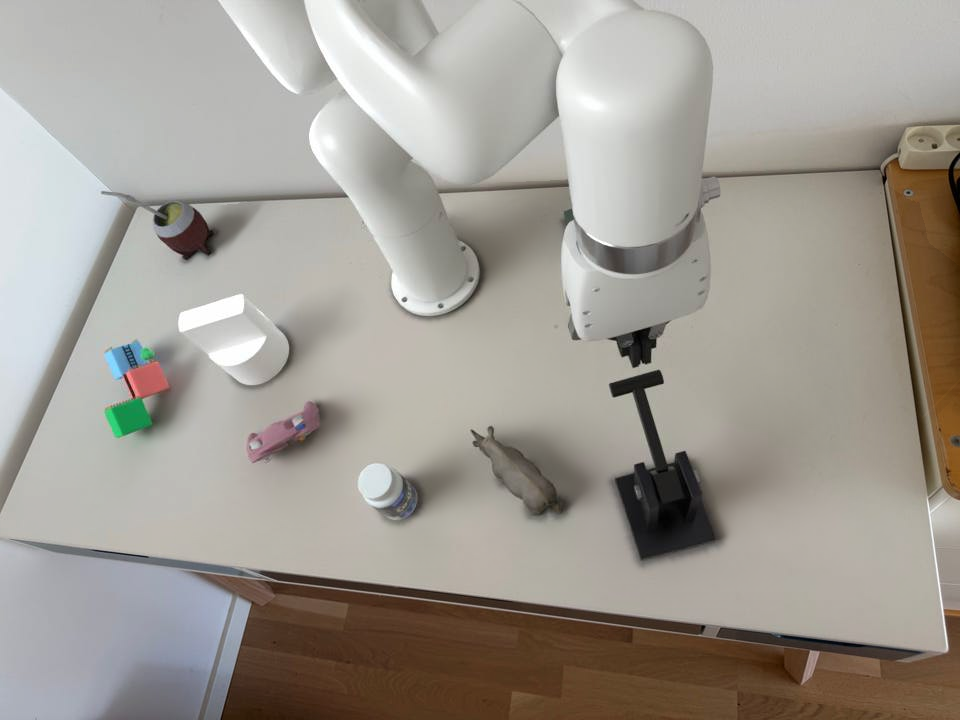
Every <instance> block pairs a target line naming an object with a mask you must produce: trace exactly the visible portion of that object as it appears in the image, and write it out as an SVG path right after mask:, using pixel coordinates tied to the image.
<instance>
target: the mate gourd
mask: <svg viewBox="0 0 960 720" xmlns="http://www.w3.org/2000/svg"><path fill="white" fill-rule="evenodd" d="M100 194H101V195H105V196H113V197H118V198H121V199H125V200H126V201H128V202H129V203H134V204H135V205H137V206H139V207H141V208H142V209H144V210H147V211H148V212H150V213H152V214H153V217H152V227H153V230H154V234H155V235H156V236H157V237H158V239H159V240H160V241H161V242H162V243H164V244H165V245H166V246H167V248H169V249H170V250H172V251H173V252H175V253H176V254H179V255H181V256H182V259H184V260H185V261H188V260H189V259H190V258H191V257H192V256H193V255H194V254H195V253H197V252H198V251H199V250H200V251H201V252H202V253H203V254H205V255H206V256H208V257H209V256H210V255H211V254H212V251H211V250H210V249H209V248H208V247H206V246H205V244H206V243H207V242H208V241H209V240H210V239H211V238H212V237H213V236H215V232H214V231H213V229H210V227H209V225H208V223H207V221H206V219H205V217H203V215H202V214H201V212H200V211H199V210H198V209H196V208H195V207H193V205H191V204H189V203H188V202H185V201H181V200H171V201H167V202H165V203H163V204H162V205H161V206H159V207H158V208H157V209H154V208H152V207H150V206H149V205H147V204H145V203H144V202H142V201H139V200H138V199H136V198H135V197H134V196H132V195H130V194H125V193H121V192H116V191H106V190H101V191H100Z"/></svg>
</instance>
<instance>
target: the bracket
mask: <svg viewBox="0 0 960 720" xmlns="http://www.w3.org/2000/svg"><path fill="white" fill-rule="evenodd" d="M667 465H668V467H669V466H672V467H674V468H675V469H676V470H677V473H678V477H679V480H680V483H681V487H682V490H683V493H684V496H685V498H683V499H679V500H675V501H671V502H667V503H664V504H662V503H661V502H660V501H659V500H658V499H657V496H656V492H655V489H654V486H653V482H652V479H651V476H650V473H649V472H651V471H654V470H656V469H655V467H652V468H648V469H647V466H646V464H645V462H644V461H642V462H637V463H635V464H633V472H632V473H630V474H626V475H622V476H618V477H615V478H614V482H615V485H616V489H617V492H618V495H619V499H620V501H621V504H622V508H623V511H624V513H625V517H626V520H627V524H628V526H629V529H630V532H631V535H632V538H633V541H634V545H635V548H636V551H637V555H638V558H639V560H640V562H642V561H647V560H650V559H654V558H658V557H662V556H666V555H670V554H674V553H678V552H681V551H686V550H689V549H693V548H698V547H702V546H706V545H709V544H712V543H715V542H716V541H717V537H716V535H715V532H714V529H713V527H712V524H711V522H710V520H709V517H708V514H707V511H706V508H705V506H704V504H703V502H702V497H703V492H702V490H701V487H700V484H701V478H700V475H699V473H698V471H697V469H695V468H694V469H693V466H692V464H691V461H690V459H689V456H688V454H687V451H686V450H682V451H679V452H675V453H674V460H673V462H670V463H667Z"/></svg>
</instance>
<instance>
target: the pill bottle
mask: <svg viewBox="0 0 960 720" xmlns="http://www.w3.org/2000/svg"><path fill="white" fill-rule="evenodd" d="M357 488H358V490H359V492H360V494H361V495H362V496H363V499H364V500H365V502H366V503H367V504H368V505H369V506H371V507H372V508H373V509H375V510H376V511H377V512H379V513H380V514H382V515H383V516H384V517H386V518H388V519H390V520H393V521H400V520H404V519H406V518H407V517H409V516H410V515H411V514H413V512H414V510H415V509H416V507H417V503H418V493H417V490H416V488H415V487H414V486H413V484H412V483H410V481H408V480H407V478H405V477H404V476H403V475H402V474H401V473H400V472H399V471H398V470H397V469H395V468H394V467H391V466H387V465H386V464H384V463H381V462H376V463H371V464H369V465H367V466H365V468H363V470H362V471H360V473H359V476H358V478H357Z"/></svg>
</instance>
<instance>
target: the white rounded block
mask: <svg viewBox="0 0 960 720" xmlns="http://www.w3.org/2000/svg"><path fill="white" fill-rule="evenodd" d="M177 324H178V331H179V333H180V334H182V335H183V336H184V337H185V338H187V340H189V341H190V342H192V343H193V344H194V345H195V346H197V347H198V348H199V349H200V350H202V351H203V352H205V354H207V356H208V357H209V359H210V360H211V362H214V364H216V365H218V367H219V368H221V369H222V370H224V371H225V372H226V373H227V374H229V375H230V376H231V377H232V378H234V379H235V380H236V381H237V382H238V383H241V384H243V385H246V386H256V385H262V384H264V383H266V382H269V381H270V380H272V379H273V378H275V377H276V376H277V375H278V374H279V373H280V372H281V371H282V370H283V368H284V367H285V365H286V363H287V361H288V358H289V355H290V345H289V340H288V339H287V337H286V336H285V334H284V333H283V332H282V331H281V330H280V329H279V328H278V327H277V326H276V324H274V323H273V322H272V321H271V320H270V319H269V318H268V317H267V316H266V315H265V313H263V312H262V311H260V310H259V309H258V308H257V307H256V306H255V304H253V303H252V302H251V301H250V300H249V299H248V298H247V296H245V294H243V293H239V294H236V295H232V296H229V297H226V298H223V299H219V300H217V301H213V302H210V303H207V304H204V305H201V306H197V307H193V308H191V309H188V310H184V311H182V312H180V313H179V317H178V323H177Z"/></svg>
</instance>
